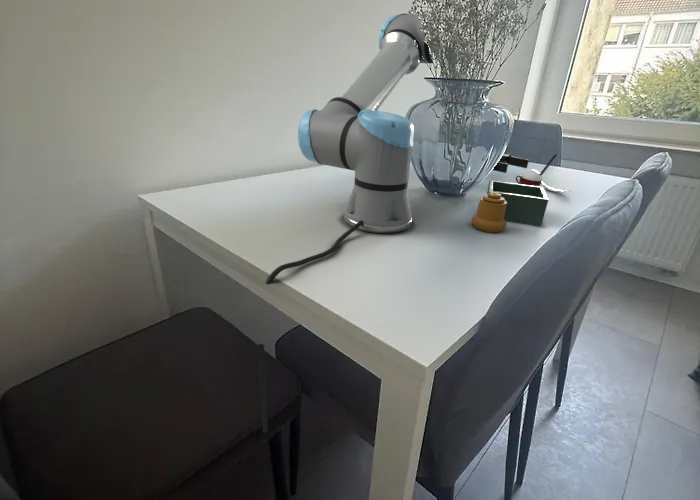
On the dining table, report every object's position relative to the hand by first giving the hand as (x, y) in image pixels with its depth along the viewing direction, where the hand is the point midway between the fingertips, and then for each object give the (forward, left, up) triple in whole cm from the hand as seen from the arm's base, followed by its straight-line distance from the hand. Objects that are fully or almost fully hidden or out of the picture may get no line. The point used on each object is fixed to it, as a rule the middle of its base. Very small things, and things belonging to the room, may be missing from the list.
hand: (517, 166), depth 123 cm
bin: (-32, +2, -6) cm, 33 cm away
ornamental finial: (-45, +7, -7) cm, 46 cm away
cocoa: (-3, -5, -7) cm, 9 cm away
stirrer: (+3, -10, -7) cm, 12 cm away
